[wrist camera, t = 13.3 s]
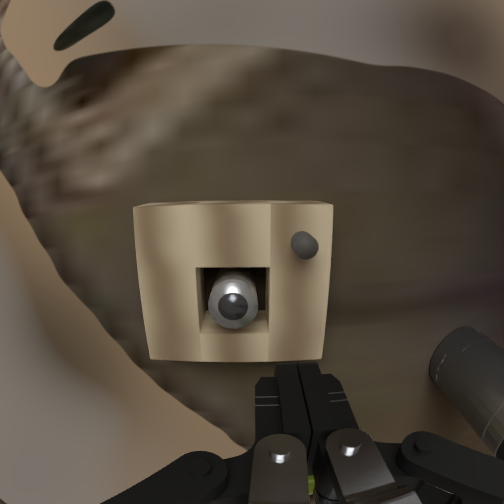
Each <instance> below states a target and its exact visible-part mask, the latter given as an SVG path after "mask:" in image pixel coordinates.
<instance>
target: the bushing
mask: <svg viewBox="0 0 504 504" xmlns="http://www.w3.org/2000/svg"><path fill="white" fill-rule="evenodd" d="M208 310H209V313H210V315H211V317H212V318H213V320H214V321H215V322H216V323H218V324H219V325H221V326H223V327H226V328H231V329H236V328H241V327H244V326H246V325H248V324H249V323H251V322H252V321H253V319H254V318H255V316H256V314H257V311H258V300H257V291H256V282H255V277H254V274H253V272H252V271H251V270H250V269H249V268H248V267H222V268H221V269H220V270H219V271H218V272H217V274H216V277H215V280H214V284H213V287H212V291H211V294H210V298H209V301H208Z"/></svg>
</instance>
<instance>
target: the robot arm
mask: <svg viewBox="0 0 504 504" xmlns="http://www.w3.org/2000/svg"><path fill="white" fill-rule="evenodd" d="M430 376H431V378H432V379H433V381H434V382H435V383H436V384H437V385H438V387H439V388H440V389H441V390H442V391H443V393H444V394H445V395H446V396H447V398H448V399H449V400H450V401H451V402H452V404H453V405H454V406H455V407H456V408H457V410H458V411H459V412H460V413H461V415H462V416H463V417H464V418H465V419H466V421H467V422H468V423H469V424H470V426H471V427H472V428H473V429H474V431H475V432H476V433H477V435H478V436H479V437H480V438H481V440H482V441H483V442H484V443H485V445H486V446H487V447H488V449H489V450H490V451H491V452H492V454H493V455H494V456H495V457H492V456H489V455H486V454H483V453H481V452H478V451H475V450H472V449H470V448H467V447H465V446H462V445H459V444H457V443H454V442H452V441H449V440H447V439H445V438H442V437H440V436H437V435H435V434H433V433H430V432H423V431H421V432H414V433H412V434H409V435H408V436H407V437H406V438H405V439H404V440H403V442H402V443H381V442H376V441H373V439H372V438H371V436H370V435H369V434H367V433H366V432H364V431H362V430H360V429H359V427H358V425H357V422H356V420H355V417H354V415H353V412H352V410H351V407H350V405H349V402H348V401H347V397H346V395H345V393H344V390H343V388H342V385H341V383H340V381H339V380H338V379H337V378H335V377H334V376H333V375H332V374H321V372H320V369H319V366H318V363H317V362H299V363H275V372H274V377H261V378H260V379H259V381H258V382H257V384H256V386H255V443H254V445H253V446H252V448H251V449H250V450H248V451H247V452H245V453H244V454H242V455H239V456H236V457H232V458H228V459H222V458H221V457H219V456H218V455H216V454H214V453H211V452H207V451H195V452H190V453H187V454H184V455H183V456H181V457H180V458H178V459H176V460H175V461H173V462H172V463H170V464H169V465H167V466H166V467H164V468H162V469H161V470H159V471H158V472H156V473H154V474H153V475H151V476H150V477H148V478H146V479H144V480H143V481H141V482H139V483H137V484H136V485H134V486H132V487H131V488H129V489H127V490H125V491H123V492H121V493H120V494H118V495H116V496H114V497H112V498H110V499H108V500H106V501H104V502H102V503H100V504H310V502H309V486H308V476H311V475H313V476H314V481H315V485H314V489H313V496H314V500H315V503H316V504H504V349H502V348H501V347H500V346H498V345H497V344H496V343H495V342H493V341H492V340H491V339H489V338H488V337H487V336H485V335H484V334H483V333H481V332H480V333H478V332H477V331H476V330H474V329H473V328H471V327H462V328H459V329H457V330H455V331H454V332H452V333H451V334H450V335H449V336H447V337H446V338H445V339H444V340H443V342H442V343H441V344H440V345H439V347H438V348H437V350H436V351H435V353H434V355H433V357H432V360H431V363H430ZM425 482H427V483H429V484H427V483H425ZM430 484H431V485H430ZM432 485H434V486H436V487H438V488H436V487H434V486H432ZM439 488H441V489H443V490H445V491H443V490H441V489H439ZM446 491H448V492H450V493H448V492H446ZM451 493H453V494H451Z"/></svg>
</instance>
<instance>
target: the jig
mask: <svg viewBox="0 0 504 504" xmlns="http://www.w3.org/2000/svg"><path fill="white" fill-rule="evenodd" d="M133 216H134V233H135V246H136V258H137V268H138V278H139V287H140V295H141V303H142V310H143V317H144V324H145V330H146V336H147V342H148V348H149V354H150V359H158V360H175V361H198V362H272V361H295V360H312V359H322V351H323V343H324V334H325V324H326V314H327V304H328V292H329V279H330V265H331V248H332V227H333V205H331V204H328V203H324V202H320V201H289V200H231V201H185V202H158V203H148V204H144V205H140V206H136V207H133ZM204 267H266V282H265V310H258V311H257V314H256V316H255V318H254V319H253V321H252V322H251V323H249V324H248V325H246V326H244V327H241V328H236V329H231V328H226V327H223V326H221V325H219V324H218V323H216V322H215V321H214V320H213V318H212V317H211V315H210V313H209V310H206V299H205V280H204Z"/></svg>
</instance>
